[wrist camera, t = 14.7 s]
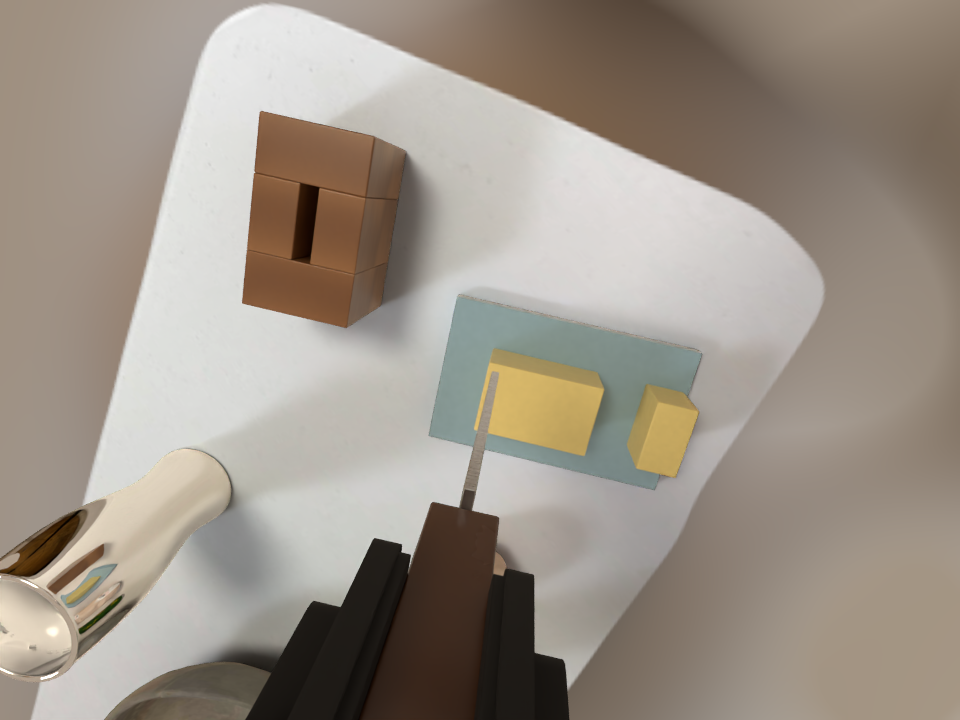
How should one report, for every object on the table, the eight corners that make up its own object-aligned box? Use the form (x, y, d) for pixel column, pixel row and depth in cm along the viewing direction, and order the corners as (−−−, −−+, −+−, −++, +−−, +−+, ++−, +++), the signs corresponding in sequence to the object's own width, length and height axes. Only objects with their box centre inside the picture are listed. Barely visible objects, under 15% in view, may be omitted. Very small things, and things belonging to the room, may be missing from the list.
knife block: (313, 129, 34) (259, 110, 27) (406, 150, 34) (375, 136, 27) (295, 286, 37) (241, 303, 30) (380, 306, 36) (346, 328, 30)
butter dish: (459, 294, 36) (457, 296, 35) (698, 349, 35) (702, 353, 34) (430, 430, 38) (428, 436, 38) (651, 483, 38) (654, 490, 37)
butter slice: (645, 383, 35) (658, 401, 32) (684, 392, 35) (700, 411, 32) (626, 445, 36) (635, 468, 33) (662, 453, 36) (675, 478, 33)
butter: (493, 347, 35) (489, 362, 32) (598, 372, 35) (604, 389, 32) (478, 410, 37) (473, 430, 33) (579, 434, 36) (584, 457, 33)
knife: (475, 366, 21) (274, 943, 5) (516, 376, 21) (457, 990, 5) (461, 436, 22) (248, 1128, 5) (499, 445, 22) (403, 1168, 5)
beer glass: (234, 446, 40) (68, 578, 26) (240, 528, 42) (90, 693, 28) (145, 438, 41) (-65, 563, 26) (156, 519, 43) (-35, 677, 28)
